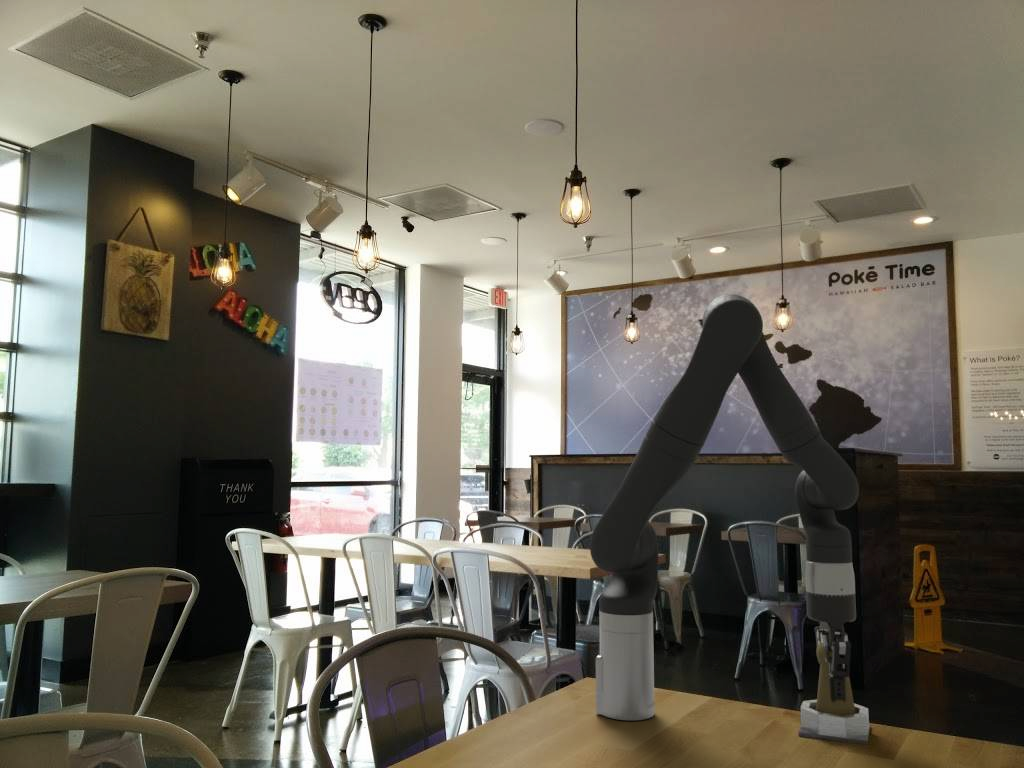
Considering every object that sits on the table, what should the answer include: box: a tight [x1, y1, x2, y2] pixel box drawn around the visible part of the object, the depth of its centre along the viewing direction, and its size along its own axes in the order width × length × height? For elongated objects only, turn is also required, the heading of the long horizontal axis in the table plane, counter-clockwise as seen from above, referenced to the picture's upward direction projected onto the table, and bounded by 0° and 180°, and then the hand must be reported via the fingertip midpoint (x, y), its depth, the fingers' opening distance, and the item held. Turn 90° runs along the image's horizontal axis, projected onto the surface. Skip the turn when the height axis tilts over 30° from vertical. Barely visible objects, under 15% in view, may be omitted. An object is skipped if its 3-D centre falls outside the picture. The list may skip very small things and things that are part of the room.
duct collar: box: [798, 699, 871, 746], centre depth 136 cm, size 10×10×4 cm
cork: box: [815, 643, 856, 715], centre depth 136 cm, size 6×6×11 cm
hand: (834, 697), depth 136 cm, fingers closed on cork, 4 cm apart
